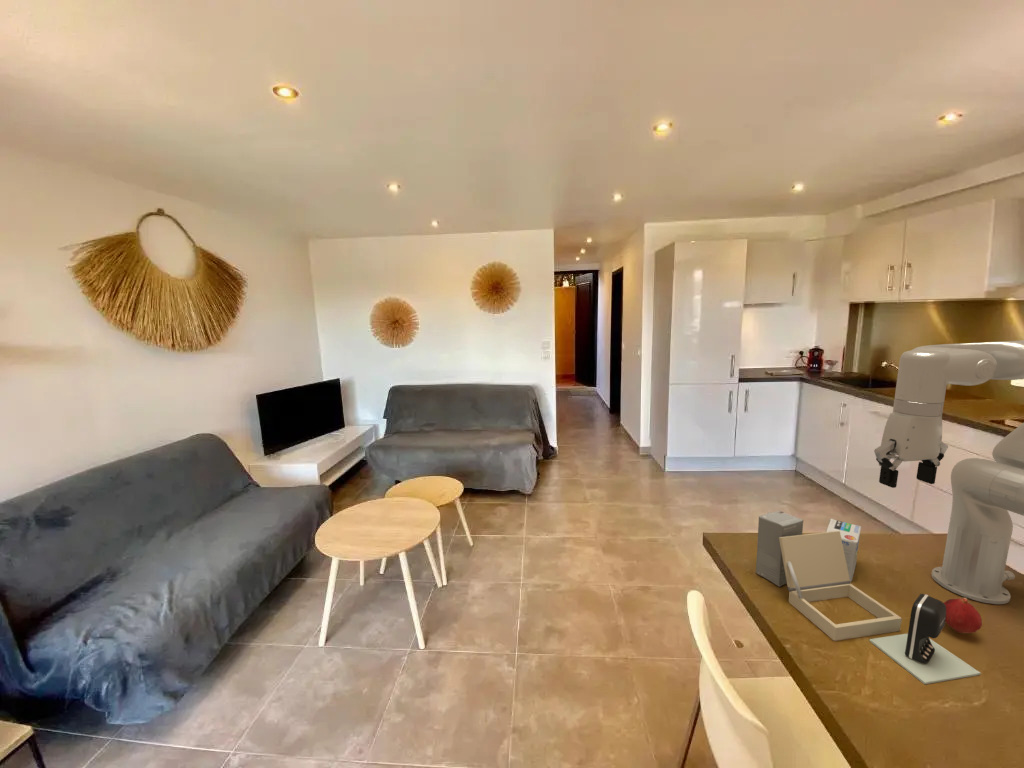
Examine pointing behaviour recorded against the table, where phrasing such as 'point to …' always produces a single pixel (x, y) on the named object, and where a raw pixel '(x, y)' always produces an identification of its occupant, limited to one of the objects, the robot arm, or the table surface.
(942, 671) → the mat
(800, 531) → the skincare box
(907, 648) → the battery charger
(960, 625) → the red fruit
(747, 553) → the table surface
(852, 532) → the light bulb box
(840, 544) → the case
